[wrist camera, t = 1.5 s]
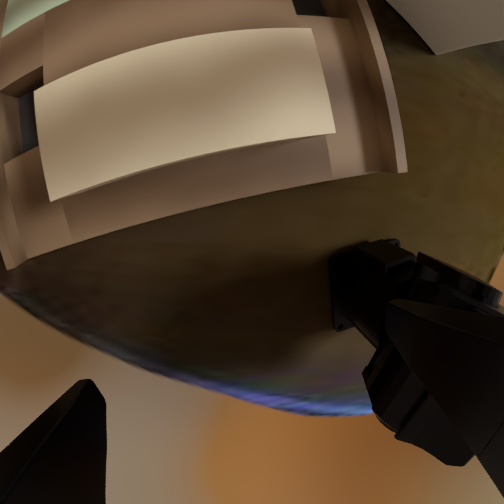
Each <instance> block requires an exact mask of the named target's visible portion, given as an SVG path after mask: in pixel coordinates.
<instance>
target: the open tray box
mask: <svg viewBox="0 0 504 504" xmlns="http://www.w3.org/2000/svg"><path fill="white" fill-rule="evenodd" d="M262 28H311V30H312V33H313V36H314V40H315V43H316V47H317V51H318V54H319V58H320V62H321V66H322V70H323V74H324V78H325V82H326V87H327V91H328V95H329V100H330V105H331V110H332V114H333V120H334V125H335V130H336V133H334V134H328V135H323V136H318V137H313V138H308V139H303V140H296V141H289V142H282V143H276V144H270V145H264V146H258V147H252V148H247V149H242V150H236V151H231V152H226V153H222V154H217V155H212V156H208V157H203V158H199V159H195V160H190V161H186V162H182V163H178V164H174V165H170V166H167V167H163V168H159V169H156V170H152V171H148V172H145V173H141V174H138V175H135V176H131V177H128V178H125V179H121V180H118V181H115V182H112V183H109V184H106V185H103V186H100V187H97V188H94V189H91V190H88V191H85V192H82V193H79V194H75V195H72V196H68V197H65V198H61V199H58V200H55V201H51V202H50V198H49V194H48V190H47V185H46V181H45V176H44V171H43V166H42V160H41V154H40V148H39V141H38V133H37V125H36V115H35V103H34V91H35V90H37V89H39V88H41V87H43V86H45V85H47V84H49V83H51V82H53V81H55V80H57V79H59V78H61V77H63V76H66V75H68V74H70V73H72V72H75V71H77V70H79V69H82V68H84V67H87V66H89V65H92V64H94V63H97V62H100V61H103V60H105V59H108V58H111V57H114V56H117V55H120V54H123V53H126V52H130V51H133V50H136V49H140V48H144V47H147V46H151V45H155V44H159V43H163V42H168V41H172V40H177V39H182V38H187V37H192V36H198V35H204V34H211V33H218V32H226V31H236V30H247V29H262ZM378 172H392V173H403V172H408V171H407V162H406V154H405V146H404V139H403V133H402V126H401V121H400V115H399V110H398V105H397V100H396V95H395V91H394V86H393V82H392V78H391V74H390V70H389V66H388V62H387V59H386V55H385V52H384V49H383V45H382V42H381V39H380V36H379V33H378V30H377V27H376V24H375V21H374V18H373V15H372V13H371V10H370V7H369V5H368V2H367V0H0V251H1V254H2V257H3V260H4V263H5V266H6V269H7V270H10V269H13V268H15V267H17V266H18V265H20V264H21V263H23V262H24V261H25V260H27V259H29V258H32V257H35V256H38V255H41V254H44V253H46V252H49V251H52V250H55V249H58V248H61V247H64V246H67V245H70V244H74V243H77V242H80V241H83V240H86V239H89V238H93V237H96V236H99V235H102V234H106V233H109V232H112V231H116V230H119V229H123V228H126V227H130V226H133V225H137V224H140V223H144V222H147V221H151V220H155V219H158V218H162V217H166V216H170V215H174V214H177V213H181V212H185V211H189V210H193V209H197V208H201V207H205V206H209V205H214V204H218V203H222V202H226V201H231V200H235V199H240V198H244V197H249V196H253V195H258V194H262V193H267V192H272V191H277V190H282V189H287V188H292V187H297V186H302V185H307V184H312V183H318V182H323V181H329V180H335V179H340V178H346V177H352V176H359V175H365V174H371V173H378Z"/></svg>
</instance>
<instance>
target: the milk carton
mask: <svg viewBox="0 0 504 504" xmlns="http://www.w3.org/2000/svg"><path fill="white" fill-rule="evenodd" d="M386 1H387V2H388V3H389V4H390V5H391V6H392V7H393V8H394V9H395V10H396V11H397V12H398V13H399V14H400V15H401V16H402V17H403V18H404V19H405V20H406V21H407V22H408V23H409V24H410V25H411V26H412V28H413V29H414V30H415V31H416V32H417V33H418V34H419V35H420V37H421V38H422V39H423V40H424V41H425V42H426V44H427V45H428V46H429V47H430V48H431V50H432V51H433V52H434V53H435V55H440V54H443V53H447V52H450V51H454V50H458V49H462V48H466V47H470V46H475V45H479V44H484V43H489V42H494V41H500V40H504V0H386Z"/></svg>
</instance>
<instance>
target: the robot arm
mask: <svg viewBox="0 0 504 504" xmlns="http://www.w3.org/2000/svg"><path fill="white" fill-rule="evenodd" d="M394 244H395V245H394ZM336 260H337V264H336V265H334V262H335V261H336ZM416 260H417V261H416ZM328 267H329V278H330V290H331V303H332V318H333V328H334V329H335V330H336V331H337V332H341V331H343V330H346V329H349V328H351V327H355V328H356V329H357V330H358V331H359V332H360V333H361V334H362V335H363V336H364V337H365V338H366V339H367V340H368V341H369V342H370V343H371V344H372V345H373V346H374V347H375V348H376V349H377V350H376V351H375V353H374V355H373V357H372V359H371V361H370V362H369V364H368V366H366V367H365V368H364V370H363V372H362V376H363V379H364V382H365V385H366V388H367V391H368V394H369V397H370V400H371V403H372V410H373V413H374V414H375V415H376V417H377V418H378V419H379V421H380V422H381V423H382V424H383V425H384V426H385V427H387V428H388V429H389V430H391V431H393V432H395V433H396V434H395V436H394V437H395V438H396V439H397V440H400V441H403V442H407V443H411V444H413V445H415V446H417V447H420V448H422V449H424V450H425V451H427V452H428V453H430V454H431V455H433V456H434V457H436V458H437V459H438V460H440V461H441V462H443V463H444V464H446V465H451V466H465V465H466V464H467V462H469V461H470V459H472V458H473V456H474V455H476V456H477V458H478V460H479V461H480V463H481V464H482V466H483V467H484V469H485V470H486V472H487V473H488V475H489V476H490V478H491V479H492V481H493V482H494V484H495V485H496V487H497V488H498V490H499V491H500V493H501V494H502V496H503V497H504V307H503V306H502V305H500V304H499V302H500V299H501V297H502V294H503V293H502V292H501V291H499V290H498V289H496V288H494V287H493V286H491V285H489V284H488V283H486V282H484V281H482V280H481V279H479V278H477V277H475V276H473V275H471V274H469V273H467V272H464V271H462V270H460V269H458V268H456V267H454V266H452V265H449V264H447V263H445V262H442V261H440V260H438V259H435V258H433V257H431V256H428V255H426V254H423V253H421V252H418V255H417V258H416V256H415V255H414V254H413V253H411V252H409V251H407V250H405V249H403V248H400V241H399V240H397V239H395V238H393V239H389V240H386V241H385V240H383V239H381V240H377V241H374V242H370V243H367V244H363V245H360V246H356V247H355V248H354V250H352V251H348V252H345V253H341V254H338V255H334V256H332V257H331V258H330V259H329V261H328ZM340 324H341V325H340ZM339 325H340V326H339ZM338 326H339V327H338ZM106 455H107V431H106V402H105V399H104V397H103V395H102V394H101V393H100V391H99V389H98V388H97V387H96V385H95V383H94V382H93V381H92V380H91V379H83V380H79V381H78V382H76V383H75V384H74V385H73V386H72V387H71V388H70V389H68V390H67V391H66V392H65V393H64V394H63V395H62V396H61V397H60V398H59V399H58V400H56V402H54V403H53V404H52V405H51V406H50V407H49V408H48V409H46V410H45V411H44V412H43V413H42V414H41V415H40V416H39V417H38V418H37V419H36V420H35V421H33V422H32V423H31V424H30V425H29V426H28V427H27V428H26V429H25V430H24V431H23V432H22V433H21V434H19V436H17V437H16V438H15V439H14V440H13V441H12V442H11V443H10V444H9V445H8V446H7V447H6V448H5V449H3V450H2V451H1V452H0V504H106V502H105V501H106V500H105V487H106V486H105V483H106Z"/></svg>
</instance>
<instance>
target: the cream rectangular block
mask: <svg viewBox="0 0 504 504" xmlns="http://www.w3.org/2000/svg"><path fill="white" fill-rule="evenodd" d="M34 103H35V115H36V125H37V133H38V141H39V148H40V154H41V160H42V166H43V171H44V176H45V181H46V185H47V190H48V194H49V198H50V202H51V201H55V200H58V199H61V198H65V197H68V196H72V195H75V194H79V193H82V192H85V191H88V190H91V189H94V188H97V187H100V186H103V185H106V184H109V183H112V182H115V181H118V180H121V179H125V178H128V177H131V176H135V175H138V174H141V173H145V172H148V171H152V170H156V169H159V168H163V167H167V166H170V165H174V164H178V163H182V162H186V161H190V160H195V159H199V158H203V157H208V156H212V155H217V154H222V153H226V152H231V151H236V150H242V149H247V148H252V147H258V146H264V145H270V144H276V143H282V142H289V141H296V140H303V139H308V138H313V137H318V136H323V135H328V134H334V133H336V130H335V125H334V120H333V114H332V110H331V105H330V100H329V95H328V91H327V87H326V82H325V78H324V74H323V70H322V66H321V62H320V58H319V54H318V51H317V47H316V43H315V40H314V36H313V33H312V30H311V28H262V29H247V30H236V31H226V32H218V33H211V34H204V35H198V36H192V37H187V38H182V39H177V40H172V41H168V42H163V43H159V44H155V45H151V46H147V47H144V48H140V49H136V50H133V51H130V52H126V53H123V54H120V55H117V56H114V57H111V58H108V59H105V60H103V61H100V62H97V63H94V64H92V65H89V66H87V67H84V68H82V69H79V70H77V71H75V72H72V73H70V74H68V75H66V76H63V77H61V78H59V79H57V80H55V81H53V82H51V83H49V84H47V85H45V86H43V87H41V88H39V89H37V90H35V91H34Z"/></svg>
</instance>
